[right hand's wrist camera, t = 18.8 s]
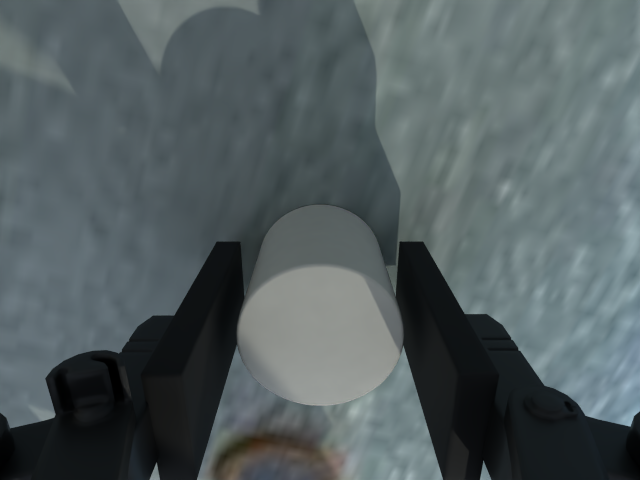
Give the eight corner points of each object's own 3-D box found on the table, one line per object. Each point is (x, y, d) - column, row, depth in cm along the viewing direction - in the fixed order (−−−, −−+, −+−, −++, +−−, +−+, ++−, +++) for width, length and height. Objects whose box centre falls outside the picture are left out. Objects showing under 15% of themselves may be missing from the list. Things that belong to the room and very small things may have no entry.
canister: (237, 234, 15) (203, 305, 11) (350, 182, 15) (364, 236, 10) (293, 329, 17) (283, 427, 12) (398, 287, 16) (429, 373, 12)
